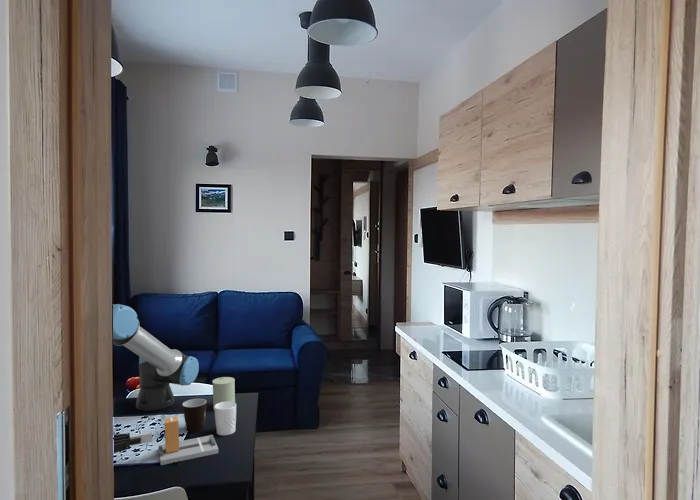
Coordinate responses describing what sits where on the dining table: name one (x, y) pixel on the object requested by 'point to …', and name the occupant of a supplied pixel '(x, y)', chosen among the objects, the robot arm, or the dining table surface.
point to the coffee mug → (194, 414)
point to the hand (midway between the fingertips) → (151, 436)
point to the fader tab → (171, 434)
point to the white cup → (225, 417)
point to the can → (223, 390)
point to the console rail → (189, 450)
